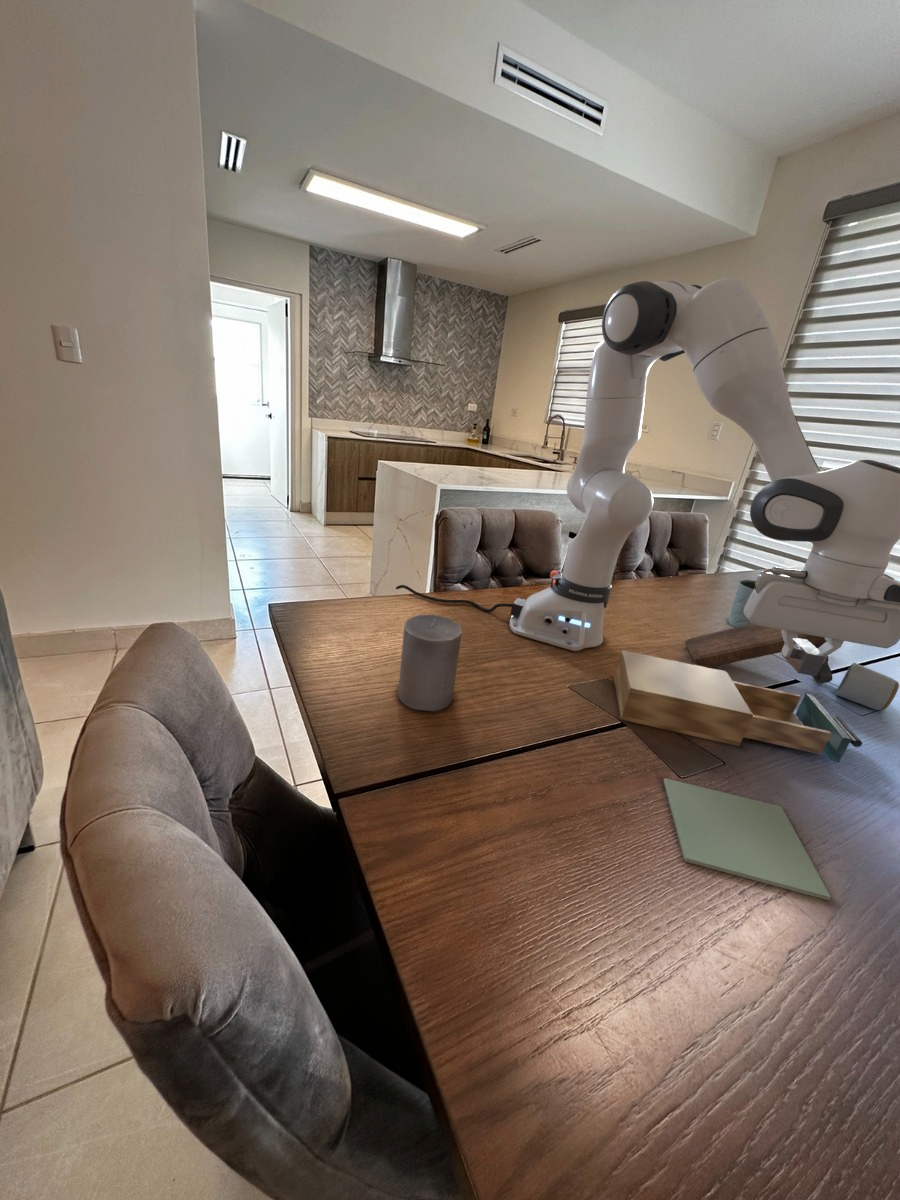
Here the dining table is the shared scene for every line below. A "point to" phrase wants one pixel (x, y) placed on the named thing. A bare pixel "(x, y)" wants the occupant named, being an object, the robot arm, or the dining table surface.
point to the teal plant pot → (741, 603)
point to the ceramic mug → (868, 687)
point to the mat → (741, 838)
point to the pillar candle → (429, 662)
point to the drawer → (795, 722)
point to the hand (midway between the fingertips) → (801, 658)
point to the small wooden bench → (746, 647)
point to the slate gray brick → (806, 658)
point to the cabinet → (680, 698)
